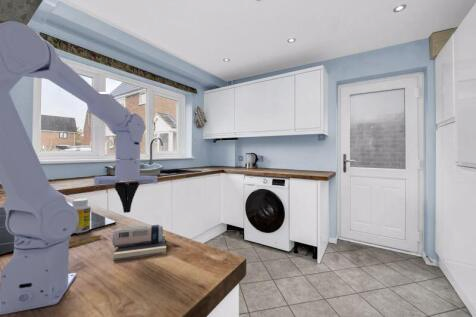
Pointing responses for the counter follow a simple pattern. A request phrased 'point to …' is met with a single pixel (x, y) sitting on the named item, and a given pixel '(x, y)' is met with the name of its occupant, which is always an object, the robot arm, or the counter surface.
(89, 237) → the shard
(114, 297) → the counter surface
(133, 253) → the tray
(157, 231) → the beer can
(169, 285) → the counter surface
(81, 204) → the supplement bottle
